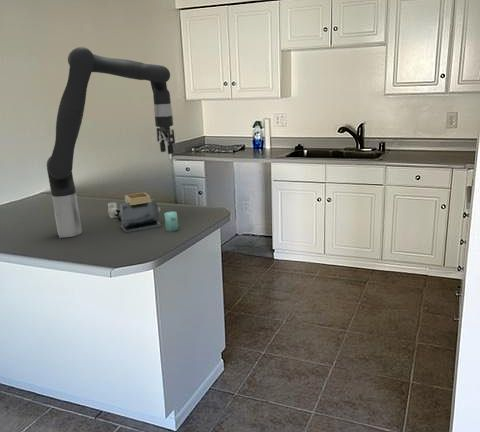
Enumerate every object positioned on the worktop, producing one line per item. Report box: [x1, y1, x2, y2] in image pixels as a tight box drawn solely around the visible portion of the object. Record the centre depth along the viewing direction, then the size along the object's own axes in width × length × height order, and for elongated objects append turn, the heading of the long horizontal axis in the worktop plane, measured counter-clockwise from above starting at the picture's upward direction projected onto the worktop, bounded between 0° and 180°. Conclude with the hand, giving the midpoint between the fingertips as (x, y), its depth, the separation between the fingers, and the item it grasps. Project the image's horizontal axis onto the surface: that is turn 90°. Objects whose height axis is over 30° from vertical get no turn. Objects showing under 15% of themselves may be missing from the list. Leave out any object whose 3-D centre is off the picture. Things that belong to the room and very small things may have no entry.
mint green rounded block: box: [163, 211, 179, 232], centre depth 194 cm, size 7×5×7 cm
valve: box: [107, 202, 122, 222], centre depth 216 cm, size 7×7×12 cm
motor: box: [119, 191, 162, 233], centre depth 201 cm, size 16×10×14 cm, turn 116°
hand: (167, 152), depth 207 cm, fingers open, 8 cm apart
